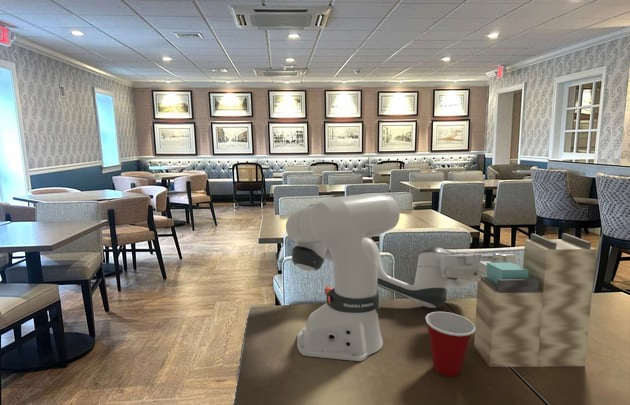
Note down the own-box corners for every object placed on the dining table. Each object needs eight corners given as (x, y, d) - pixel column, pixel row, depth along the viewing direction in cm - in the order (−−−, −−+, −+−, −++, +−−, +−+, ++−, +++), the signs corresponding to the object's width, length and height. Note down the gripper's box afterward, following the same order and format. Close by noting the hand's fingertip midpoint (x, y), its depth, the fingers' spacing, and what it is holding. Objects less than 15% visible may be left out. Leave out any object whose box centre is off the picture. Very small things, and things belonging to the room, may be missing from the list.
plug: (501, 287, 89) (502, 269, 89) (472, 270, 106) (472, 255, 106) (528, 287, 89) (528, 269, 89) (494, 270, 106) (494, 255, 106)
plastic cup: (474, 388, 82) (477, 335, 81) (422, 378, 86) (423, 327, 84) (472, 361, 92) (474, 313, 91) (425, 353, 96) (426, 308, 94)
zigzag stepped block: (489, 366, 90) (497, 243, 86) (474, 346, 99) (480, 234, 95) (584, 366, 90) (597, 242, 86) (560, 346, 99) (570, 233, 94)
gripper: (506, 277, 114) (530, 268, 101) (437, 278, 114) (452, 268, 101) (503, 256, 116) (525, 244, 103) (434, 257, 116) (449, 245, 104)
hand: (488, 256), depth 102 cm, fingers open, 4 cm apart
